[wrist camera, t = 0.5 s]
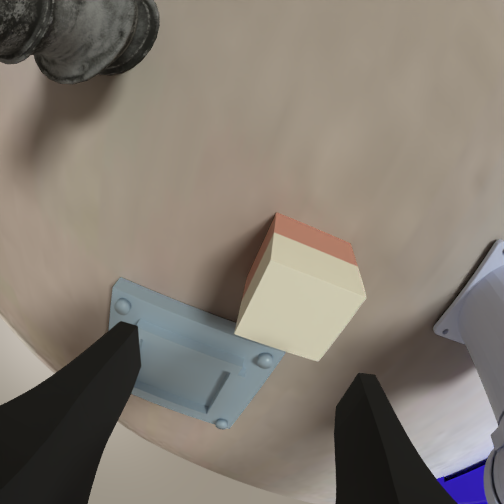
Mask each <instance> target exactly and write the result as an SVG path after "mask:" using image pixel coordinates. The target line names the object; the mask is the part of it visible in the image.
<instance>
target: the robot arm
mask: <svg viewBox="0 0 504 504" xmlns="http://www.w3.org/2000/svg"><path fill="white" fill-rule="evenodd" d="M503 250H504V241H503V240H501V239H499V240H497V241H496V242H495V243H494V245H493V246H492V248H491V249H490V251H489V252H488V254H487V255H486V257H485V258H484V260H483V261H482V263H481V264H480V266H479V267H478V269H477V270H476V272H475V273H474V274H473V276H472V277H471V279H470V280H469V281H468V283H467V284H466V286H465V287H464V288H463V290H462V291H461V292H460V294H459V295H458V296H457V298H456V299H455V300H454V302H453V303H452V304H451V305H450V307H449V308H448V309H447V310H446V312H445V313H444V314H443V315H442V317H441V318H440V319H439V320H438V322H437V323H436V324H435V325H434V327H433V330H434V332H435V334H437V335H439V336H442V337H445V338H448V339H450V340H453V341H456V342H459V343H461V344H464V345H466V347H467V349H468V352H469V354H470V356H471V358H472V360H473V363H474V365H475V367H476V370H477V372H478V374H479V377H480V379H481V381H482V384H483V386H484V389H485V391H486V394H487V396H488V399H489V401H490V404H491V407H492V409H493V412H494V415H495V418H496V420H497V423H498V428H497V429H496V430H495V431H494V432H493V433H492V434H491V438H492V441H493V445H494V449H493V450H492V451H491V453H490V455H489V456H488V458H487V461H486V464H485V468H484V490H485V496H486V499H487V502H488V504H504V251H503ZM502 251H503V252H502ZM443 330H444V331H443ZM140 368H141V356H140V345H139V333H138V326H136V325H133V324H130V323H126V322H123V321H120V322H118V323H117V324H116V325H115V326H114V327H113V328H111V329H110V330H109V331H108V332H107V333H106V334H104V335H103V336H102V337H101V338H100V339H99V340H97V341H96V342H95V343H94V344H93V345H91V346H90V347H89V348H88V349H86V350H85V351H84V352H83V353H81V354H80V355H79V356H78V357H76V358H75V359H74V360H73V361H71V362H70V363H69V364H67V365H66V366H65V367H63V368H62V369H61V370H59V371H58V372H56V373H55V374H54V375H52V376H51V377H49V378H48V379H46V380H45V381H43V382H42V383H41V384H39V385H38V386H36V387H34V388H33V389H31V390H29V391H27V392H25V393H24V394H22V395H20V396H18V397H16V398H14V399H13V400H11V401H9V402H7V403H4V404H3V405H0V504H88V500H89V496H90V492H91V488H92V485H93V481H94V478H95V475H96V471H97V468H98V465H99V462H100V459H101V456H102V453H103V451H104V448H105V445H106V443H107V441H108V439H109V437H110V435H111V433H112V431H113V429H114V427H115V425H116V423H117V421H118V419H119V417H120V415H121V413H122V411H123V409H124V407H125V405H126V403H127V401H128V399H129V397H130V395H131V393H132V390H133V388H134V385H135V382H136V380H137V377H138V374H139V371H140ZM334 442H335V464H336V504H458V503H457V502H456V501H455V500H454V499H453V498H452V497H451V496H450V495H449V494H448V492H447V491H446V490H445V489H444V488H443V487H442V486H441V484H440V483H439V482H438V481H437V479H436V478H435V477H434V475H433V474H432V473H431V471H430V470H429V468H428V467H427V466H426V464H425V463H424V461H423V460H422V458H421V457H420V455H419V454H418V452H417V451H416V449H415V447H414V446H413V444H412V443H411V441H410V439H409V437H408V436H407V434H406V432H405V430H404V429H403V427H402V425H401V423H400V421H399V420H398V418H397V416H396V414H395V412H394V410H393V408H392V406H391V404H390V402H389V401H388V399H387V397H386V395H385V393H384V391H383V389H382V387H381V385H380V383H379V381H378V380H377V378H376V376H375V375H372V374H364V373H358V374H357V376H356V377H355V379H354V381H353V382H352V384H351V385H350V387H349V388H348V390H347V391H346V393H345V394H344V396H343V397H342V399H341V400H340V402H339V403H338V405H337V406H336V414H335V428H334Z"/></svg>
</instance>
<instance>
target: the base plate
mask: <svg viewBox="0 0 504 504" xmlns="http://www.w3.org/2000/svg"><path fill="white" fill-rule="evenodd" d="M120 321H123V322H126V323H130V324H133V325H136V326H138V333H139V345H140V356H141V368H140V371H139V374H138V377H137V380H136V382H135V385H134V388H133V390H132V393H131V394H133V395H135V396H138V397H140V398H143V399H145V400H147V401H150V402H152V403H155V404H158V405H160V406H163V407H165V408H168V409H171V410H174V411H176V412H179V413H182V414H185V415H188V416H191V417H194V418H197V419H200V420H203V421H206V422H209V423H212V424H215V425H216V427H217V428H219V429H226V428H229V429H230V427H231V426H232V425H233V424H234V422H235V421H236V420H237V418H238V417H239V416H240V414H241V413H242V412H243V411H244V409H245V408H246V407H247V405H248V404H249V403H250V401H251V400H252V399H253V397H254V396H255V395H256V393H257V392H258V391H259V389H260V388H261V387H262V385H263V384H264V382H265V381H266V380H267V378H268V377H269V376H270V374H271V373H272V371H273V370H274V369H275V367H276V366H277V364H278V363H279V362H280V360H281V359H282V357H283V356H284V354H285V351H282V350H279V349H276V348H273V347H270V346H267V345H264V344H261V343H258V342H255V341H252V340H250V339H247V338H244V337H241V336H238V335H235V334H234V332H235V328H236V323H235V322H232V321H229V320H226V319H224V318H221V317H218V316H216V315H213V314H210V313H208V312H205V311H202V310H200V309H197V308H195V307H192V306H190V305H187V304H184V303H182V302H179V301H177V300H174V299H172V298H169V297H167V296H164V295H162V294H160V293H157V292H155V291H152V290H150V289H147V288H145V287H143V286H140V285H138V284H136V283H133V282H131V281H129V280H126V279H124V278H122V277H120V278H119V280H118V281H117V282H116V284H115V285H114V286H113V290H112V299H111V309H110V319H109V330H110V329H111V328H113V327H114V326H115V325H116V324H117V323H118V322H120Z"/></svg>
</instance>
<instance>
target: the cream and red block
mask: <svg viewBox="0 0 504 504" xmlns="http://www.w3.org/2000/svg"><path fill="white" fill-rule="evenodd" d="M366 298H367V297H366V293H365V289H364V286H363V283H362V279H361V276H360V272H359V269H358V266H357V262H356V259H355V256H354V253H353V250H352V246H351V243H348V242H346V241H344V240H341V239H339V238H337V237H334V236H332V235H330V234H327V233H325V232H323V231H320V230H318V229H316V228H313V227H311V226H309V225H306V224H304V223H301V222H299V221H297V220H294V219H292V218H289V217H287V216H284V215H282V214H279V213H277V212H276V214H275V217H274V219H273V221H272V223H271V225H270V228H269V230H268V232H267V234H266V236H265V239H264V241H263V243H262V245H261V247H260V250H259V252H258V254H257V256H256V258H255V260H254V263H253V265H252V267H251V269H250V271H249V274H248V276H247V279H246V283H245V288H244V292H243V297H242V301H241V306H240V310H239V314H238V319H237V323H236V328H235V332H234V334H235V335H238V336H241V337H244V338H247V339H250V340H252V341H255V342H258V343H261V344H264V345H267V346H270V347H273V348H276V349H279V350H282V351H285V352H289V353H292V354H295V355H298V356H301V357H304V358H308V359H311V360H314V361H319V360H320V359H321V358H322V356H323V355H324V354H325V352H326V351H327V350H328V349H329V347H330V346H331V345H332V344H333V342H334V341H335V340H336V338H337V337H338V336H339V334H340V333H341V332H342V330H343V329H344V328H345V327H346V325H347V324H348V322H349V321H350V320H351V318H352V317H353V316H354V314H355V313H356V312H357V310H358V309H359V307H360V306H361V305H362V303H363V302H364V300H365V299H366Z"/></svg>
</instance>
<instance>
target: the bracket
mask: <svg viewBox="0 0 504 504" xmlns="http://www.w3.org/2000/svg"><path fill="white" fill-rule="evenodd" d="M484 468H485V465H483V466H481V467H479V468H477V469H474V470H472V471H470V472H468V473H465V474H463V475H461V476H458V477H456V478H454V479H451V480H449V481H446V480H445V479H444V477H441V478H438V479H437V481H438V482H439V483H440V484H441V486H442V487H443V488H444V489H445V490H446V491H447V492H448V494H449V495H450V496H451V497H452V498H453V499H454V500H455V501H456V502H457V503H458V504H488V502H487V499H486V496H485V490H484Z"/></svg>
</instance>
